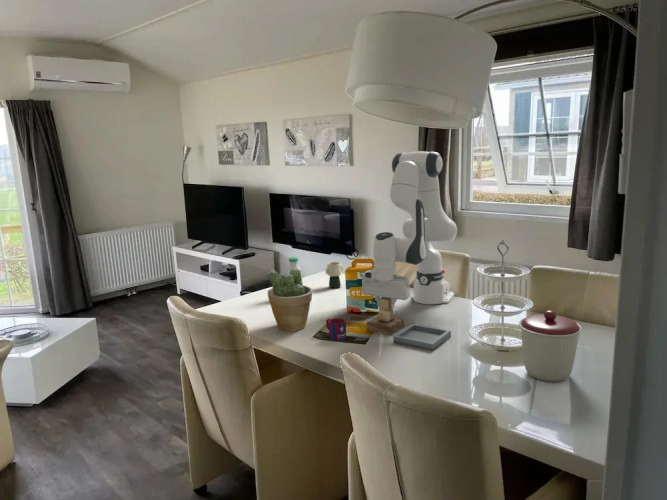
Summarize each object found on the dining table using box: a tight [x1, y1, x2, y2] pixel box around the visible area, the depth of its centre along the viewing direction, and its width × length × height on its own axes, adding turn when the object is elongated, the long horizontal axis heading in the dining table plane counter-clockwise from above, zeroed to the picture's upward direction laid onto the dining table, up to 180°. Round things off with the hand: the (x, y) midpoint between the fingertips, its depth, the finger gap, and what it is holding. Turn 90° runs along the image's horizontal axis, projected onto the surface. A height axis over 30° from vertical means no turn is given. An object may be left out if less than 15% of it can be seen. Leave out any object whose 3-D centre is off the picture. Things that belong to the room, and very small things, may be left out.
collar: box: [366, 314, 406, 336], centre depth 211 cm, size 11×11×4 cm
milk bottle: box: [286, 256, 303, 284], centre depth 258 cm, size 8×8×20 cm
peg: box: [378, 297, 394, 322], centre depth 210 cm, size 4×4×9 cm
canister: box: [518, 309, 583, 383], centre depth 163 cm, size 18×18×21 cm
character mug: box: [325, 261, 344, 288], centre depth 274 cm, size 11×7×13 cm, turn 128°
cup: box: [325, 317, 347, 341], centre depth 205 cm, size 7×10×7 cm
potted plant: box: [266, 268, 313, 332], centre depth 216 cm, size 18×19×25 cm
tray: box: [392, 323, 452, 352], centre depth 198 cm, size 16×16×2 cm
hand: (385, 307), depth 210 cm, fingers closed on peg, 4 cm apart
